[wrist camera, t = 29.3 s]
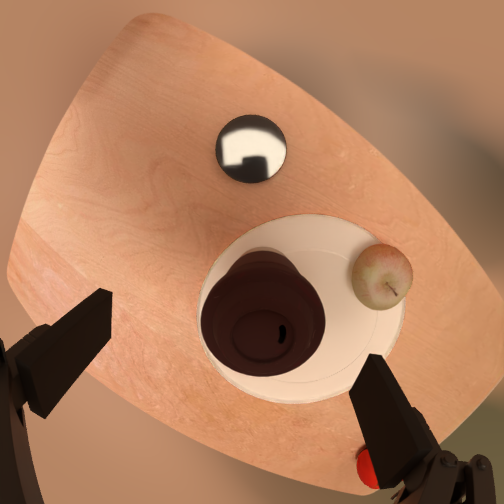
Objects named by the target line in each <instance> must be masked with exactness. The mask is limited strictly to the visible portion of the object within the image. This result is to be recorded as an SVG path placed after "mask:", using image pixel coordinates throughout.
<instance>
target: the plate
mask: <svg viewBox="0 0 504 504" xmlns="http://www.w3.org/2000/svg"><path fill="white" fill-rule="evenodd" d="M375 244H383V243H382V242H381V241H379V240H378V239H377V238H376V237H375V236H374V235H373V234H371V233H370V232H368V231H367V230H365V229H364V228H362V227H360V226H358V225H357V224H354V223H352V222H350V221H347V220H344V219H341V218H338V217H333V216H328V215H321V214H299V215H291V216H286V217H281V218H278V219H274V220H271V221H268V222H266V223H263V224H261V225H259V226H257V227H255V228H253V229H251V230H249V231H248V232H246V233H245V234H243V235H242V236H240V237H239V238H237V239H236V240H235V241H234V242H232V243H231V244H230V245H229V246H228V247H227V248H226V249H225V250H224V251H223V252H222V253H221V254H220V256H219V257H218V258H217V259H216V261H215V262H214V263H213V265H212V267H211V268H210V270H209V271H208V273H207V275H206V277H205V279H204V282H203V284H202V287H201V290H200V293H199V298H198V303H197V316H196V317H197V328H198V334H199V338H200V341H201V344H202V347H203V349H204V352H205V353H206V355H207V357H208V359H209V360H210V362H211V364H212V365H213V366H214V368H215V369H216V370H217V371H218V372H219V373H220V374H221V375H222V376H223V377H224V378H225V379H226V380H227V381H228V382H230V383H231V384H232V385H234V386H235V387H236V388H238V389H240V390H241V391H243V392H245V393H247V394H249V395H252V396H254V397H257V398H260V399H263V400H267V401H271V402H276V403H284V404H303V403H312V402H317V401H322V400H325V399H329V398H332V397H335V396H337V395H340V394H342V393H344V392H346V391H348V390H350V389H351V388H352V386H353V384H354V382H355V380H356V378H357V377H358V375H359V373H360V371H361V369H362V367H363V365H364V363H365V361H366V359H367V357H368V355H369V353H371V354H378V355H382V356H383V358H384V360H385V359H386V358H387V356H388V355H389V353H390V352H391V350H392V348H393V347H394V345H395V343H396V341H397V339H398V336H399V334H400V331H401V328H402V324H403V320H404V315H405V305H406V298H405V297H404V298H403V299H402V300H401V301H400V302H399V303H398V304H397V305H396V306H394V307H392V308H390V309H387V310H382V311H379V310H372V309H370V308H368V307H366V306H365V305H363V304H362V303H361V302H360V301H359V300H358V299H357V297H356V296H355V294H354V291H353V288H352V282H351V275H352V268H353V266H354V263H355V261H356V259H357V258H358V256H359V255H360V254H361V252H362V251H363V250H365V249H366V248H367V247H369V246H371V245H375ZM256 247H271V248H274V249H276V250H278V251H280V252H282V253H283V254H284V255H285V256H286V257H287V258H288V259H289V260H290V261H291V262H292V263H293V264H294V266H295V267H296V268H297V270H298V271H299V273H300V274H301V275H302V276H303V277H305V278H306V279H307V280H308V281H309V282H310V283H311V284H312V286H313V287H314V288H315V290H316V291H317V293H318V295H319V297H320V300H321V302H322V304H323V307H324V311H325V318H326V325H325V331H324V335H323V338H322V341H321V343H320V345H319V347H318V349H317V350H316V351H315V353H314V354H313V355H312V356H311V357H310V358H309V359H308V360H307V361H306V362H305V363H304V364H302V365H301V366H299V367H298V368H296V369H294V370H292V371H290V372H287V373H284V374H281V375H276V376H270V377H255V376H249V375H245V374H241V373H238V372H236V371H233V370H231V369H230V368H228V367H226V366H225V365H223V364H222V363H221V362H220V361H218V360H217V359H216V358H215V357H214V355H213V354H212V353H211V352H210V351H209V349H208V347H207V346H206V343H205V341H204V339H203V336H202V332H201V326H200V318H201V311H202V307H203V305H204V302H205V300H206V298H207V296H208V294H209V292H210V290H211V289H212V287H213V286H214V285H215V284H216V282H217V281H218V280H219V279H220V278H222V277H223V276H224V275H225V274H226V273H227V272H228V270H229V269H230V267H231V266H232V265H233V263H234V262H235V261H236V260H238V258H239V257H240V256H241V255H242V254H243V253H245V252H246V251H248V250H250V249H252V248H256Z"/></svg>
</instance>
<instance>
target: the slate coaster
mask: <svg viewBox="0 0 504 504" xmlns="http://www.w3.org/2000/svg"><path fill="white" fill-rule="evenodd" d="M215 150H216V157H217V160H218V163H219V165H220V167H221V168H222V170H223V171H224V172H225V173H226V174H227V175H228V176H230V177H231V178H233V179H235V180H237V181H240V182H243V183H258V182H262V181H265V180H267V179H269V178H271V177H272V176H273V175H275V174H276V173H277V172H278V171H279V169H280V168H281V166H282V165H283V163H284V160H285V157H286V151H287V147H286V141H285V137H284V135H283V133H282V131H281V130H280V128H279V127H278V126H277V125H276V124H275V123H274V122H272V121H271V120H269V119H267V118H265V117H262V116H259V115H244V116H240V117H237V118H235V119H233V120H232V121H230V122H229V123H227V124H226V125H225V126H224V128H223V129H222V130H221V132H220V133H219V135H218V138H217V141H216V149H215Z"/></svg>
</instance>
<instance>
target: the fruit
mask: <svg viewBox="0 0 504 504" xmlns="http://www.w3.org/2000/svg"><path fill="white" fill-rule="evenodd" d="M412 281H413V270H412V267H411V264H410V262H409V261H408V259H407V258H406V257H405V255H404V254H403V253H402V252H400V251H399V250H398V249H396V248H394V247H392V246H390V245H386V244H375V245H371V246H369V247H367V248H366V249H365V250H363V251H362V252H361V254H360V255H359V256H358V258H357V259H356V261H355V263H354V266H353V268H352V275H351V282H352V288H353V291H354V294H355V296H356V297H357V299H358V300H359V301H360V302H361V303H362V304H363V305H365V306H366V307H368V308H370V309H372V310H379V311H382V310H387V309H390V308H392V307H394V306H396V305H397V304H398V303H399V302H400V301H401V300H402V299H403V298H404V297H405V295H406V294H407V292H408V291H409V289H410V287H411V285H412Z"/></svg>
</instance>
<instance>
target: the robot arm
mask: <svg viewBox="0 0 504 504" xmlns="http://www.w3.org/2000/svg"><path fill="white" fill-rule="evenodd" d="M112 294H113V292H110V291H107V290H105V289H102V288H99V289H98V290H96V291H95V292H94V293H92V294H91V295H90V296H88V297H87V298H86V299H85V300H83V301H82V302H81V303H79V304H78V305H77V306H76V307H74V308H73V309H72V310H70V311H69V312H68V313H67V314H65V315H64V316H63V317H62V318H60V319H59V320H58V321H57V322H56V323H54V324H53V325H52V326H50V325H48V324H43V325H41V326H38V327H36V328H34V329H33V330H32V331H31V332H29V334H27V335H25V336H24V337H23V339H20V340H19V341H18V342H17V343H16V344H14V345H13V346H12V347H11V348H9V350H7V351H6V352H5V348H4V344H3V341H2V340H1V338H0V504H44V501H43V498H42V495H41V492H40V488H39V485H38V481H37V477H36V473H35V470H34V465H33V461H32V457H31V451H30V446H29V442H28V435H27V429H26V423H25V415H24V410H23V405H24V404H25V403H26V401H27V402H28V405H29V408H30V410H31V411H32V412H34V413H35V414H37V415H39V416H40V417H42V418H44V419H46V417H47V416H48V415H49V414H50V412H51V411H52V410H53V408H54V407H55V406H56V405H57V403H58V402H59V401H60V399H61V398H62V397H63V396H64V394H65V393H66V392H67V391H68V389H69V388H70V387H71V386H72V384H73V383H74V382H75V381H76V379H77V378H78V377H79V376H80V375H81V373H82V372H83V371H84V370H85V368H86V367H87V366H88V365H89V364H90V362H91V361H92V360H93V359H94V358H95V356H96V355H97V354H98V353H99V352H100V350H101V349H102V348H103V347H104V346H105V345H106V343H107V342H108V341H109V340H110V339H111V318H112ZM349 396H350V398H351V401H352V404H353V407H354V410H355V413H356V416H357V419H358V422H359V425H360V428H361V431H362V434H363V437H364V440H365V443H366V446H367V449H368V452H369V456H370V459H371V462H372V465H373V468H374V472H375V475H376V478H377V482H378V485H379V488H380V489H387V488H394V487H396V486H397V485H398V484H399V483H400V482H401V481H402V480H403V481H404V484H405V486H404V487H402V488H401V489H400V490H399V491H398V492H397V493H396V494H394V495H393V496H392V497H391V499H392V500H393V499H394V498H395V497H396V496H397V498H396V500H395V502H394V504H496V495H495V486H494V478H493V471H492V465H491V463H490V461H489V459H488V458H487V457H485V456H483V455H480V454H477V455H475V456H474V457H473V458H472V459H471V460H470V461H469V462H463V461H458V459H457V457H456V456H455V455H454V454H452V453H451V452H449V451H446V450H443V451H442V450H441V448H440V446H439V444H438V442H437V441H436V439H435V437H434V435H433V433H432V431H431V430H429V426H428V424H426V421H425V419H424V417H423V415H422V414H421V413H420V412H419V411H418V410H417V409H416V408H415V407H411V405H410V403H409V402H408V400H407V398H406V396H405V394H404V393H403V391H402V389H401V387H400V386H399V384H398V382H397V380H396V379H395V377H394V375H393V373H392V372H391V370H390V368H389V367H388V365H387V363H386V361H385V360H384V358H383V356H382V355H378V354H371V353H369V355H368V357H367V359H366V361H365V363H364V365H363V367H362V369H361V371H360V373H359V375H358V377H357V378H356V380H355V382H354V384H353V386H352V388H351V389H350V391H349ZM465 495H466V500H465V501H464V502H463V503H462V498H463V497H464V496H465Z"/></svg>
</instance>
